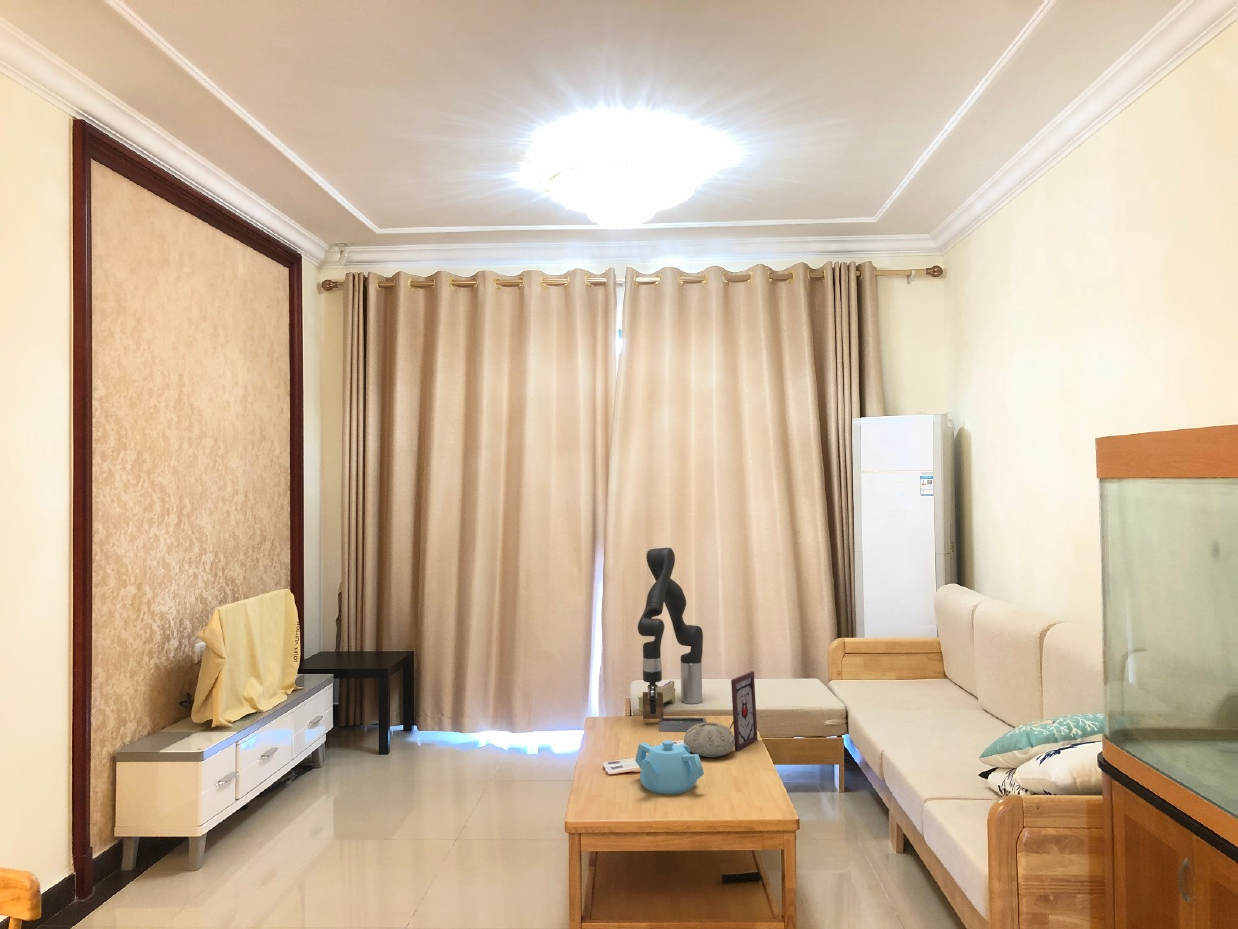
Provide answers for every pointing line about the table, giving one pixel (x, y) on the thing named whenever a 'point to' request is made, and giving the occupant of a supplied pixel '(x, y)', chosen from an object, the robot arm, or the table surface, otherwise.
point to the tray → (679, 724)
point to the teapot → (668, 767)
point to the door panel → (658, 706)
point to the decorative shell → (709, 739)
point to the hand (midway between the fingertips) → (653, 712)
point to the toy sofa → (667, 694)
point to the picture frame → (744, 710)
